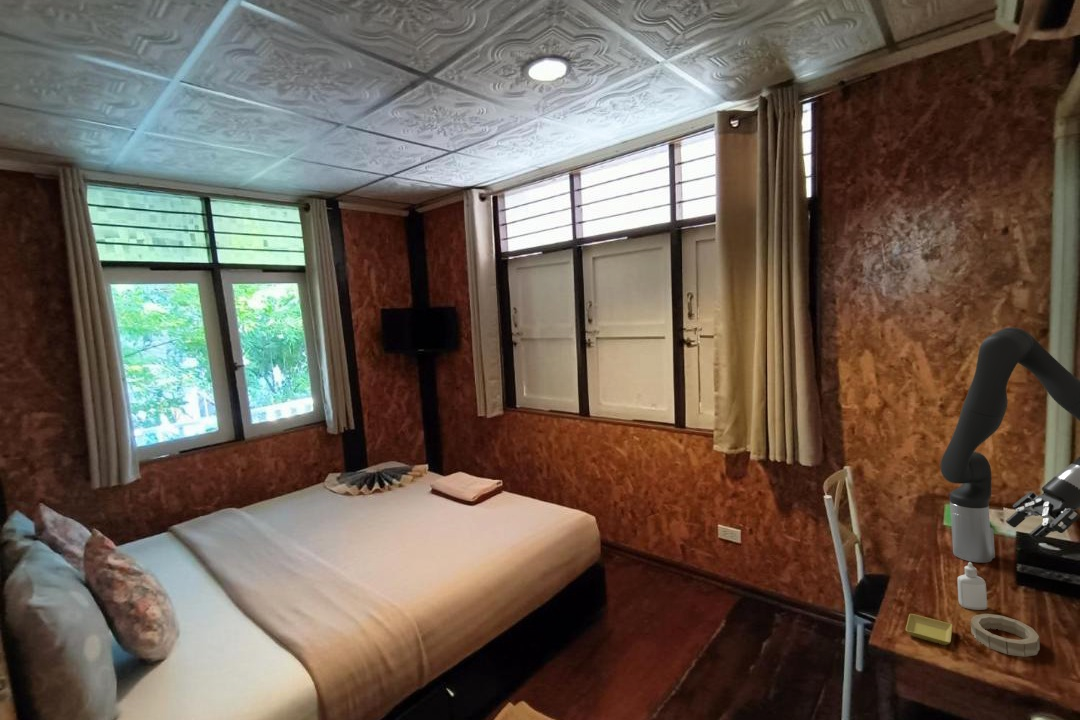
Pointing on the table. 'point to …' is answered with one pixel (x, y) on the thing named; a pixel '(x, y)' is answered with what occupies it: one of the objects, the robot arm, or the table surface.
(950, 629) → the yellow square tray
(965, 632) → the table surface
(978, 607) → the eye dropper bottle
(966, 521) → the robot arm
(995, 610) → the table surface
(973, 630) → the birch ring collar
